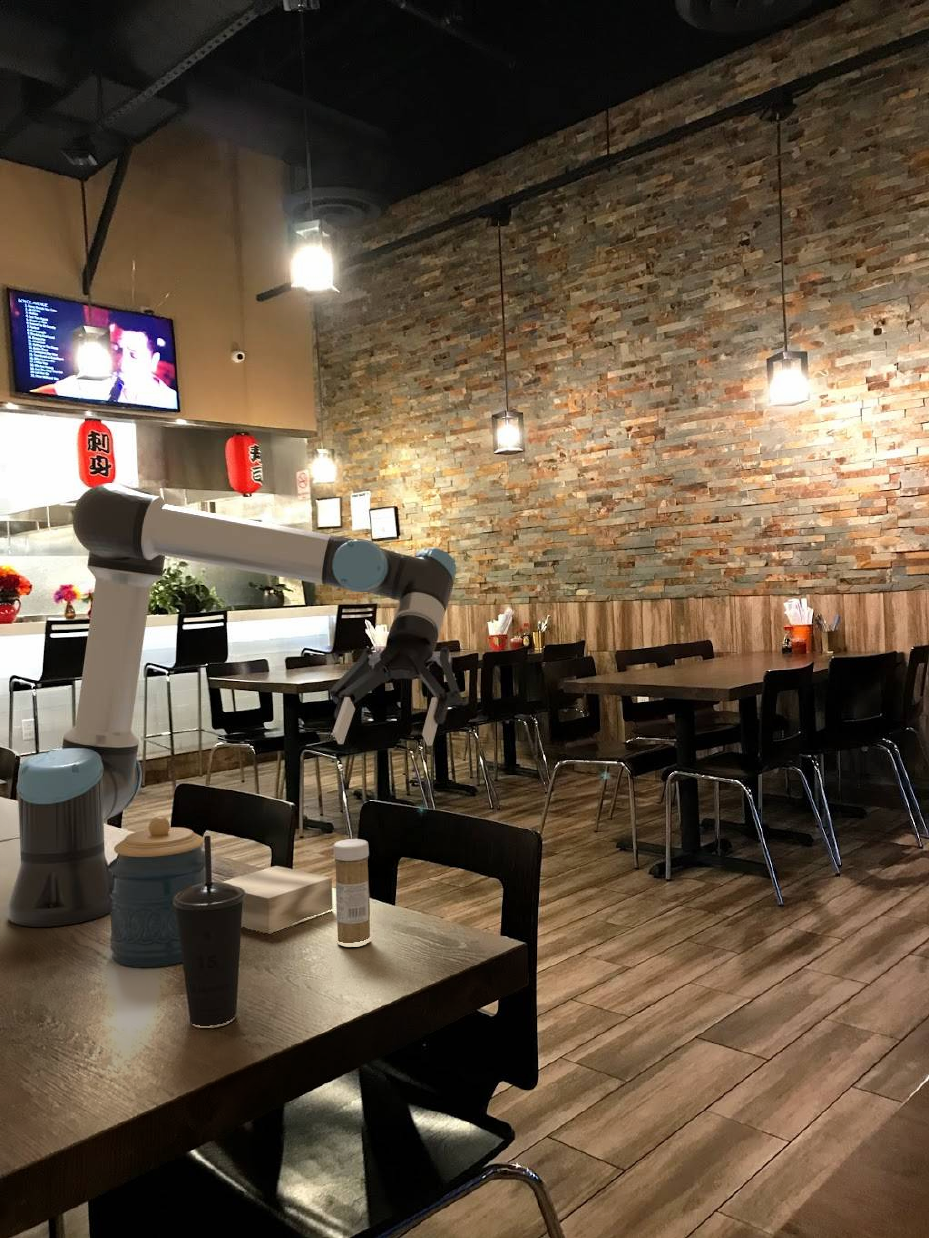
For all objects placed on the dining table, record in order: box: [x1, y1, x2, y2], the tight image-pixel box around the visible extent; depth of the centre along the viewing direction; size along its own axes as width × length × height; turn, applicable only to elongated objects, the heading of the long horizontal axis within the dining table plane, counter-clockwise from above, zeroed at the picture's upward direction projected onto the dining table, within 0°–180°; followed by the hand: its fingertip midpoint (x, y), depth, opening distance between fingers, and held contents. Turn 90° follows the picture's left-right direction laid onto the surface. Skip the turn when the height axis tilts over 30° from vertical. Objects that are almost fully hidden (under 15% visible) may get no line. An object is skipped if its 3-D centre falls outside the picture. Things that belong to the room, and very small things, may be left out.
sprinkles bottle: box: [333, 838, 371, 943], centre depth 130 cm, size 5×5×14 cm
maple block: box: [222, 865, 334, 935], centre depth 143 cm, size 12×12×5 cm
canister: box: [108, 816, 213, 968], centre depth 129 cm, size 13×13×18 cm
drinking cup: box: [172, 835, 245, 1026], centre depth 107 cm, size 8×8×20 cm
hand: (381, 739), depth 140 cm, fingers open, 13 cm apart
